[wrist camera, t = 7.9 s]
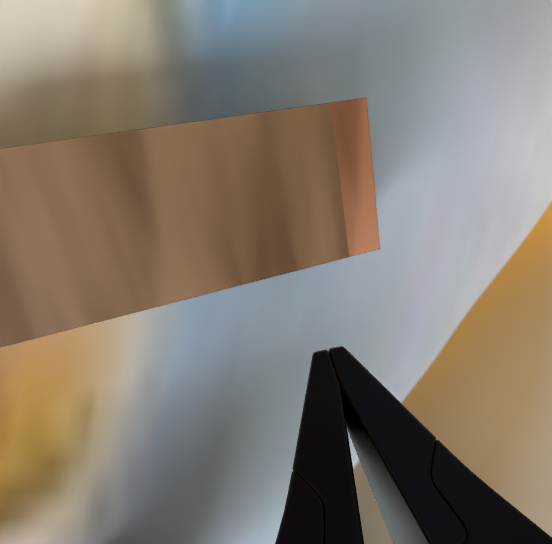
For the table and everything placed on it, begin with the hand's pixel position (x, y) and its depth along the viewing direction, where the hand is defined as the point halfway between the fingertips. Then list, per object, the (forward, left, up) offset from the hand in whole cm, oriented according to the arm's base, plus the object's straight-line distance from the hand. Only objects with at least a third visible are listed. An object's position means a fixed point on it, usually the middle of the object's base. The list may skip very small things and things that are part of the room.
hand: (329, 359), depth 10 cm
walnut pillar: (+6, -3, -7) cm, 10 cm away
